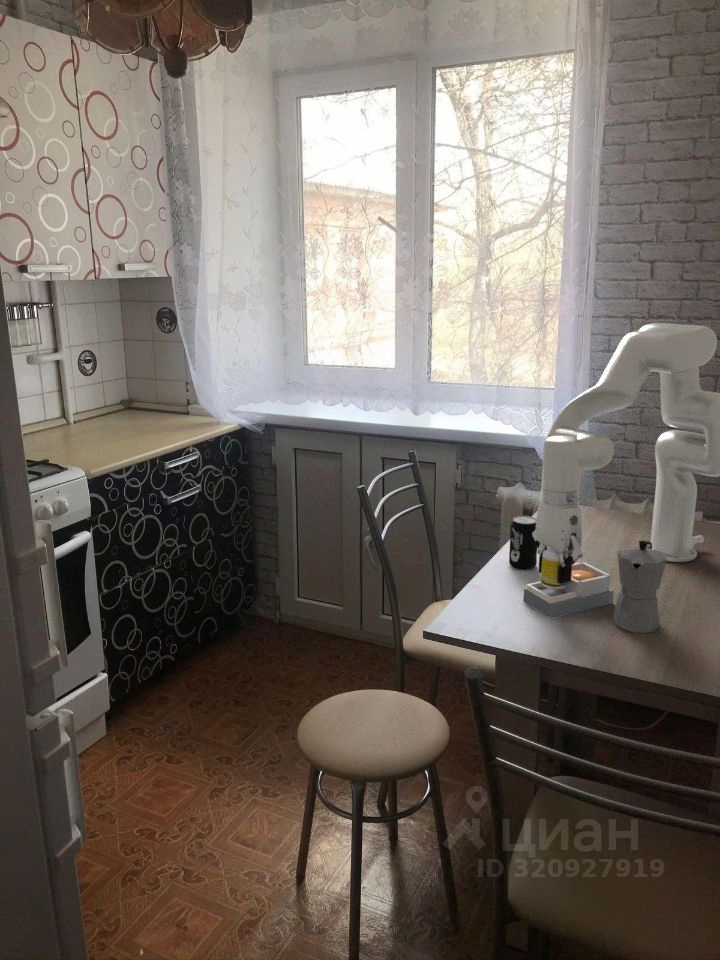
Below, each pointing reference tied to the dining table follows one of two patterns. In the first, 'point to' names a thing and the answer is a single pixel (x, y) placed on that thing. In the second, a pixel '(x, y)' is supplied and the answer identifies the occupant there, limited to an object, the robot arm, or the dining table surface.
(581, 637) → the dining table surface
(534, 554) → the beverage can
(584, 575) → the orange rounded capsule
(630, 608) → the coffeepot
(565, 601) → the grey divided storage tray
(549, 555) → the supplement bottle
